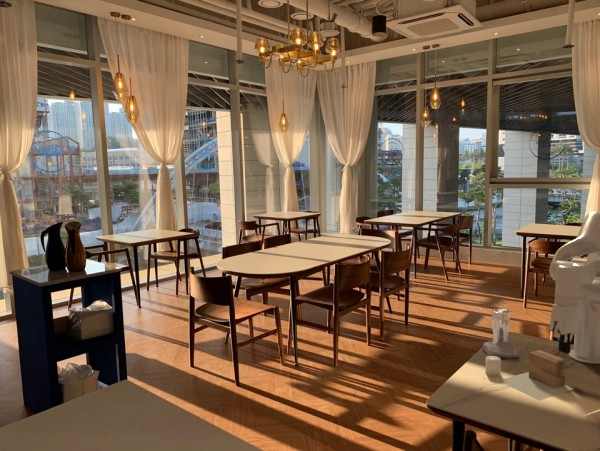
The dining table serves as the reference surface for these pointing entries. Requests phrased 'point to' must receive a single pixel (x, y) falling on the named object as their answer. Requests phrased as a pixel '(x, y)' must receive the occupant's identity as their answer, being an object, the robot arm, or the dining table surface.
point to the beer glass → (500, 324)
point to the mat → (533, 386)
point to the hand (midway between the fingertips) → (564, 351)
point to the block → (547, 369)
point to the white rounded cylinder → (493, 366)
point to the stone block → (500, 349)
